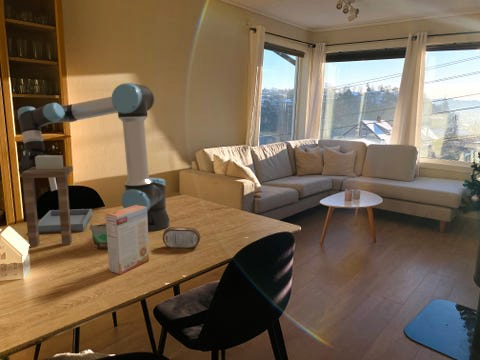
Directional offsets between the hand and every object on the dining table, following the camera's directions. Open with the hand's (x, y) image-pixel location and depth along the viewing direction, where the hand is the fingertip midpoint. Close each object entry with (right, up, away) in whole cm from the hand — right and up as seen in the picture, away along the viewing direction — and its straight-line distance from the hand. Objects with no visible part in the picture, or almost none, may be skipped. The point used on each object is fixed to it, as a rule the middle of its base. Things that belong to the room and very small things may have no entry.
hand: (43, 190), depth 152 cm
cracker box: (+44, -27, -24) cm, 57 cm away
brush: (+5, +10, -2) cm, 12 cm away
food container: (+31, -23, -9) cm, 40 cm away
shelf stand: (+6, -21, -3) cm, 22 cm away
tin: (+60, -23, -6) cm, 65 cm away
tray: (+1, -17, +17) cm, 24 cm away
